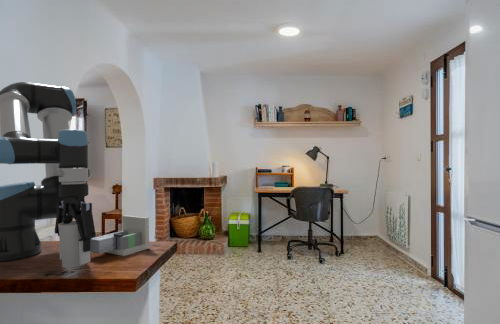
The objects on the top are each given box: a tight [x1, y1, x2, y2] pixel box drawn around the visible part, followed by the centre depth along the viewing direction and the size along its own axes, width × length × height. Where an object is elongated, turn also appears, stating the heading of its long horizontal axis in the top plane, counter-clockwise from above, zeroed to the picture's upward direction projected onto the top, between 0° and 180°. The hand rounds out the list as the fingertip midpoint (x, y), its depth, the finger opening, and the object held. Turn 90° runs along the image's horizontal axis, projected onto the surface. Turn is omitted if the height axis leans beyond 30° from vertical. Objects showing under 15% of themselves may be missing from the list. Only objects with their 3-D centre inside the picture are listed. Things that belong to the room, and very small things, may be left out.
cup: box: [58, 220, 87, 269], centre depth 89 cm, size 8×8×12 cm
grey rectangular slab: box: [90, 233, 123, 255], centre depth 97 cm, size 8×8×5 cm
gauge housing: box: [102, 214, 150, 257], centre depth 104 cm, size 12×10×10 cm
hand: (74, 260), depth 89 cm, fingers open, 9 cm apart
